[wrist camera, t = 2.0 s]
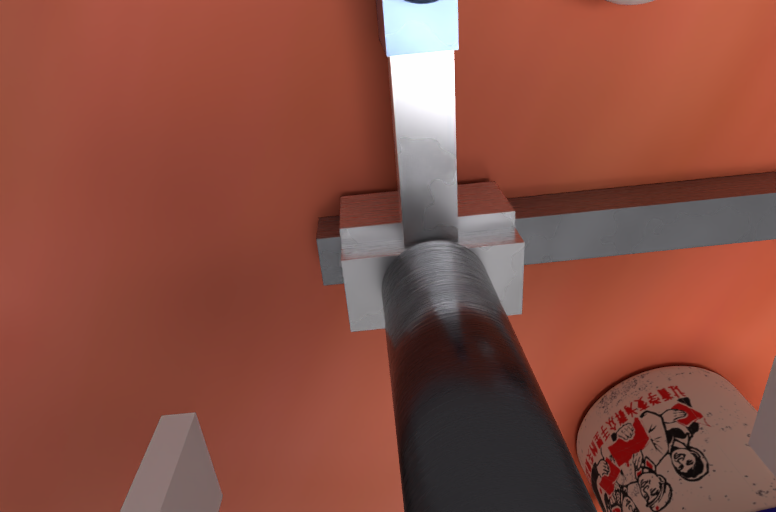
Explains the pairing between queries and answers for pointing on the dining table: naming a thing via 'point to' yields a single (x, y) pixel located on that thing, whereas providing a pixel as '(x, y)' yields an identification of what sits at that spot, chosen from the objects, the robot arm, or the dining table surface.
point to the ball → (629, 2)
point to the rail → (621, 220)
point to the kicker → (449, 300)
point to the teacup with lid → (674, 446)
